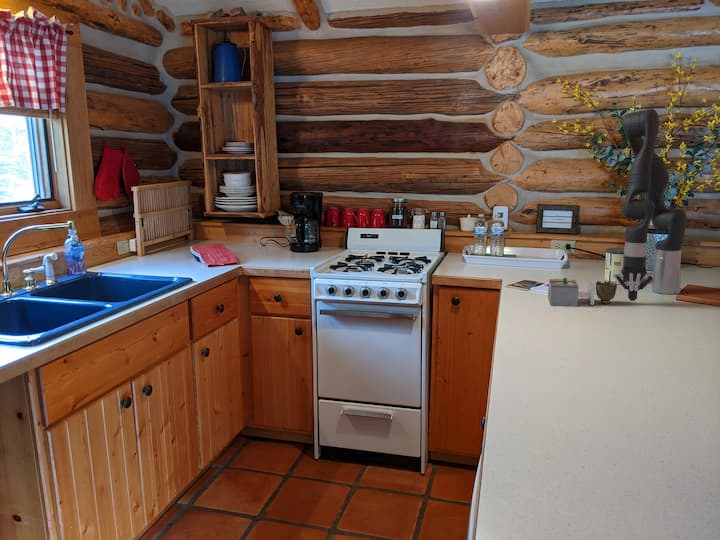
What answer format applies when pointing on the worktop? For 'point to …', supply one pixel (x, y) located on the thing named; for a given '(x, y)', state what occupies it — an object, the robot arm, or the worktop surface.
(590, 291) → the plunger
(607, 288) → the cup
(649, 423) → the worktop surface
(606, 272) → the coffee can
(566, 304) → the gauge housing
